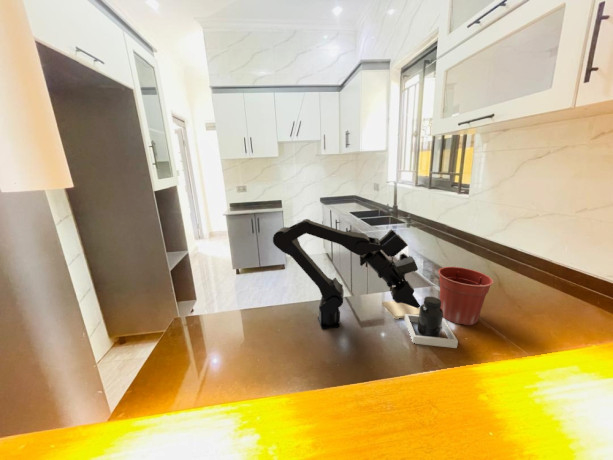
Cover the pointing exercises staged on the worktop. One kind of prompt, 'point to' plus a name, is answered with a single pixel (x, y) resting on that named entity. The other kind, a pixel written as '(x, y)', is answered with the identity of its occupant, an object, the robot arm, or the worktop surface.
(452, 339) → the frame
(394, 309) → the birch board
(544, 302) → the worktop surface
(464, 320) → the flower pot
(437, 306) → the supplement bottle
